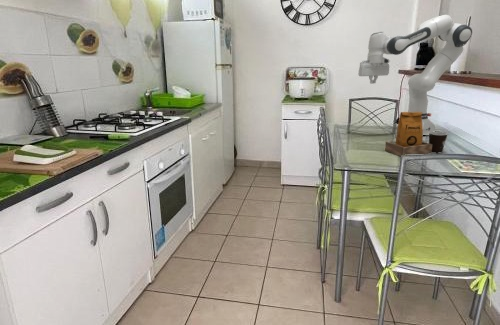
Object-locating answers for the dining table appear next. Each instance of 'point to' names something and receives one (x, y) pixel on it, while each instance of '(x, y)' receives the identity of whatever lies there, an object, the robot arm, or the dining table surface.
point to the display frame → (408, 149)
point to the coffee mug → (437, 141)
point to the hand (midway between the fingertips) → (372, 83)
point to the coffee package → (409, 129)
